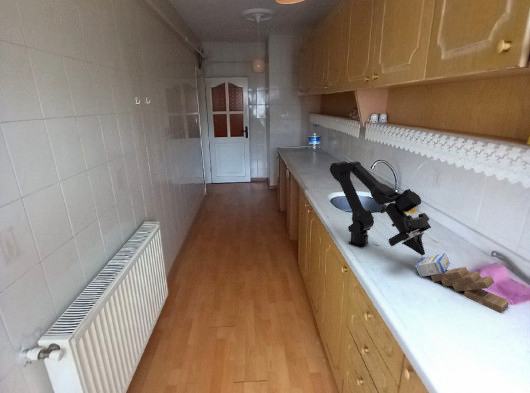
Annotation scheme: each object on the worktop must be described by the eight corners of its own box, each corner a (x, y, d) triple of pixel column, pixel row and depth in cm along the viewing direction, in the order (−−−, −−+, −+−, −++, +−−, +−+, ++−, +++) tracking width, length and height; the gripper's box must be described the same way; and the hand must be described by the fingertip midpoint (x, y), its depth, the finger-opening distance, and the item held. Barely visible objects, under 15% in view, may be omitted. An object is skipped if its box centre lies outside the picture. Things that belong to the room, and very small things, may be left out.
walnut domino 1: (430, 276, 103) (458, 271, 95) (437, 271, 106) (465, 266, 98) (433, 281, 103) (461, 278, 95) (440, 277, 106) (468, 272, 97)
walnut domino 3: (452, 285, 98) (484, 281, 89) (459, 280, 100) (491, 275, 92) (455, 291, 97) (487, 288, 89) (462, 286, 100) (494, 282, 92)
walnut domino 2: (441, 280, 101) (470, 276, 92) (448, 275, 103) (477, 271, 95) (444, 286, 100) (474, 283, 92) (451, 281, 103) (481, 277, 95)
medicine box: (421, 257, 112) (445, 252, 106) (426, 268, 111) (451, 263, 105) (414, 265, 106) (439, 261, 100) (420, 277, 106) (445, 273, 100)
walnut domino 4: (464, 290, 94) (502, 307, 86) (472, 285, 97) (509, 300, 89) (463, 296, 95) (501, 313, 87) (471, 290, 98) (507, 306, 90)
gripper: (399, 213, 101) (426, 254, 96) (429, 202, 111) (456, 239, 105) (377, 227, 110) (402, 265, 104) (407, 215, 119) (430, 250, 114)
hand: (423, 254), depth 107 cm, fingers closed
